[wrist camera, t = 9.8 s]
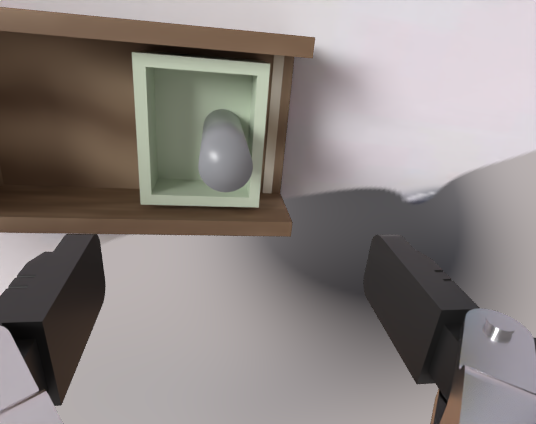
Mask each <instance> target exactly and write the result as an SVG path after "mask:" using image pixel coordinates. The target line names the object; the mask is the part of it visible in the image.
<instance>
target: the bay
mask: <svg viewBox="0 0 536 424" xmlns="http://www.w3.org/2000/svg"><path fill="white" fill-rule="evenodd" d="M314 43H315V37H305V36H295V35H285V34H274V33H264V32H254V31H243V30H233V29H223V28H212V27H202V26H192V25H181V24H171V23H161V22H150V21H140V20H130V19H119V18H109V17H99V16H88V15H78V14H68V13H57V12H47V11H37V10H26V9H16V8H6V7H0V232H6V233H78V234H153V235H155V234H156V235H158V234H159V235H223V236H225V235H226V236H227V235H228V236H291V230H292V220H291V218H290V216H289V213H288V211H287V208H286V207H285V204H284V201H283V199H282V197H281V194H280V189H281V179H282V170H283V160H284V151H285V141H286V132H287V122H288V112H289V103H290V93H291V84H292V74H293V64H294V57H304V58H313V51H314ZM142 50H146V51H158V52H169V53H181V54H193V55H205V56H216V57H228V58H240V59H251V60H263V61H265V62H267V63H269V64H270V74H269V86H268V99H267V111H266V124H265V136H264V148H263V161H262V173H261V185H260V198H259V208H257V207H218V206H178V205H141V203H140V186H139V169H138V152H137V135H136V118H135V101H134V84H133V67H132V52H136V51H142Z"/></svg>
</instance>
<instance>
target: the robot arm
mask: <svg viewBox="0 0 536 424" xmlns="http://www.w3.org/2000/svg"><path fill="white" fill-rule="evenodd" d="M363 281H364V282H363V284H364V292H365V296H366V298H367V300H368V301H369V303H370V305H371V307H372V308H373V309H374V312H375V313H376V315H377V317H378V319H379V320H380V322H381V324H382V325H383V327H384V329H385V331H386V332H387V334H388V336H389V337H390V339H391V341H392V343H393V344H394V346H395V348H396V349H397V351H398V353H399V354H400V356H401V358H402V360H403V361H404V363H405V365H406V367H407V368H408V370H409V372H410V373H411V375H412V377H413V378H414V380H415V382H416V384H428V383H436V385H437V386H438V388H439V389H438V392H437V395H436V397H435V402H434V407H433V413H432V419H431V423H430V424H536V338H533V336H532V334H531V333H530V332H529V330H528V329H527V328H526V327H525V326H524V325H522V324H521V323H520V322H518V321H517V320H515V319H514V318H512V317H510V316H508V315H506V314H503V313H501V312H498V311H495V310H490V309H483V308H479V307H478V306H477V305H476V304H475V303H474V302H473V301H472V300H471V299H470V298H469V297H468V296H467V294H466V293H465V292H464V291H462V290H461V288H460V287H459V286H458V285H457V284H456V283H455V282H454V281H451V278H450V277H449V276H448V275H447V274H446V273H445V272H443V270H442V269H441V268H440V267H439V266H438V265H437V264H436V263H435V262H434V261H433V260H432V259H431V258H429V257H427V256H426V255H424V254H422V253H420V252H419V251H416V250H415V249H414V248H413V247H412V246H411V245H410V244H409V243H408V242H407V241H406V240H405V239H404V238H403V237H402V236H401V235H376V236H374V237H373V239H372V242H371V246H370V251H369V256H368V260H367V265H366V270H365V274H364V280H363ZM104 296H105V276H104V269H103V261H102V253H101V246H100V240H99V237H98V235H97V234H66V235H65V236H64V238H63V239H62V240H61V242H60V243H59V245H58V246H57V247H56V249H55V250H54V251H53V252H44V253H42V254H41V255H39V256H37V257H36V258H34V259H33V260H31V261H29V262H28V263H27V264H26V265H25V266H24V268H23V269H22V270H21V271H20V272H19V274H18V275H17V278H15V279H14V280H13V281H12V282H11V284H10V285H9V288H8V289H6V290H5V291H4V292H3V293H2V295H1V296H0V424H64V423H63V421H62V420H61V418H60V416H59V414H58V412H57V410H56V408H55V406H58V405H62V403H63V400H64V398H65V395H66V393H67V390H68V388H69V385H70V383H71V380H72V378H73V376H74V373H75V371H76V368H77V366H78V363H79V361H80V358H81V356H82V353H83V351H84V349H85V346H86V344H87V341H88V339H89V336H90V334H91V331H92V329H93V326H94V324H95V322H96V319H97V317H98V314H99V312H100V309H101V307H102V304H103V301H104Z"/></svg>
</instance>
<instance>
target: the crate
mask: <svg viewBox="0 0 536 424" xmlns="http://www.w3.org/2000/svg"><path fill="white" fill-rule="evenodd" d="M132 67H133V84H134V101H135V118H136V135H137V152H138V169H139V186H140V203H141V205H178V206H218V207H257V208H259V198H260V185H261V173H262V161H263V148H264V136H265V124H266V111H267V99H268V86H269V74H270V64H269V63H267V62H265V61H263V60H251V59H240V58H228V57H216V56H205V55H193V54H181V53H169V52H158V51H146V50H142V51H136V52H132Z"/></svg>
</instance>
